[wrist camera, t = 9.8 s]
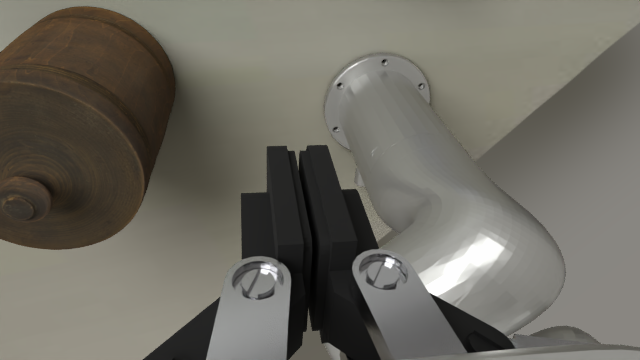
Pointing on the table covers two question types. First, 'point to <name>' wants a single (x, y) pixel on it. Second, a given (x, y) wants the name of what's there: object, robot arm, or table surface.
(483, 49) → the table surface
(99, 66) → the wooden container
